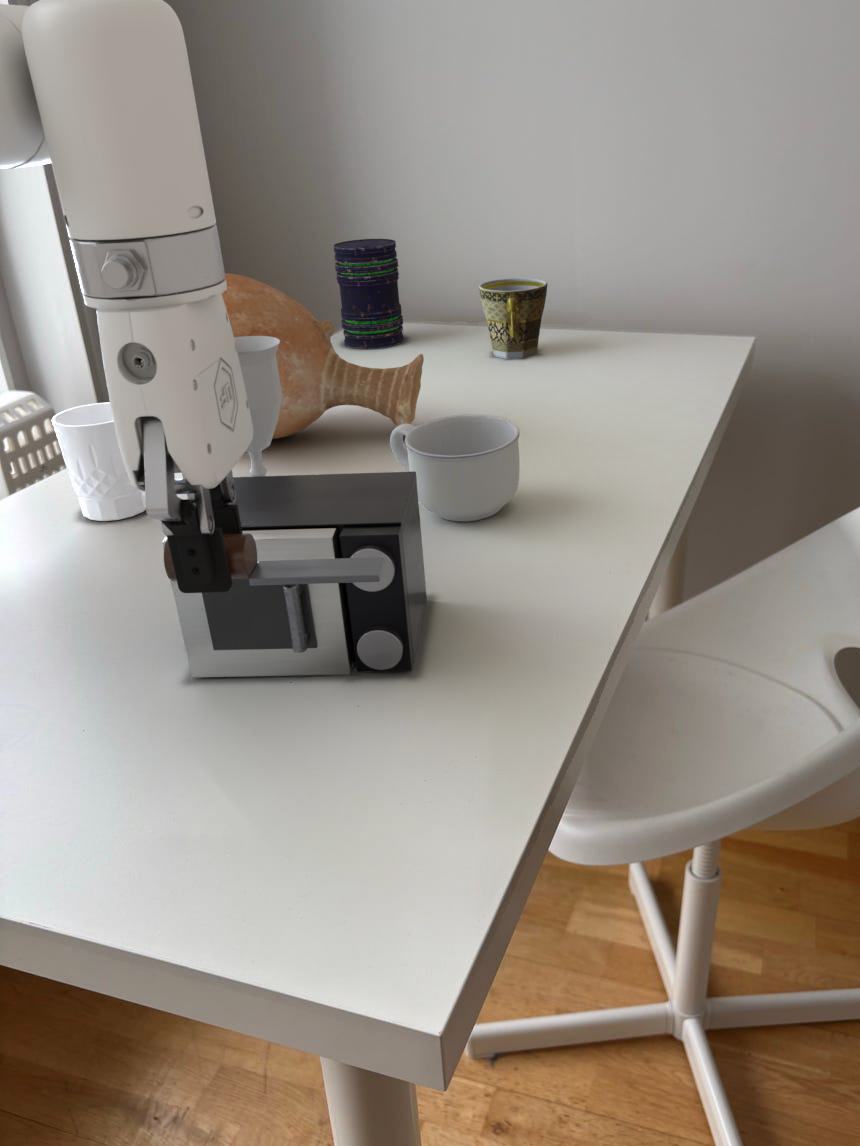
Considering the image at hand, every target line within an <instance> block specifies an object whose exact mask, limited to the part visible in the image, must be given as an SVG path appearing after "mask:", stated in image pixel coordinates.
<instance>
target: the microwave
mask: <svg viewBox="0 0 860 1146" xmlns="http://www.w3.org/2000/svg"><path fill="white" fill-rule="evenodd" d="M233 479H234V483H235V488H236V501H235V503H228V505H237V506H238V511H239V516H240V522H241V527H242V531H254V530H289V529H324V528H336V530H337V538H338V546H339V553H340V558H370V557H384V561H385V564H384V568H383V571H382V574H381V577H380V581H379V582H355V583H343V584H344V592H345V600H346V607H347V615H348V623H349V631H350V638H351V646H352V654H353V662H354V664H355V670H356V672H357V673H361V672H362V673H363V672H365V673H366V672H368V673H369V672H411V671H413V666H414V662H415V659H416V655H417V650H418V645H419V639H420V634H421V630H422V624H423V619H424V616H425V615H424V614H425V610H426V606H427V601H428V599H427V586H426V575H425V574H426V573H425V563H424V551H423V550H424V549H423V539H422V527H421V516H420V502H419V501H418V491H417V482H416V481H417V479H416V472H415V471H413V472H409V471H388V472H387V471H385V472H383V471H381V472H357V473H355V472H354V473H325V474H324V473H323V474H319V473H318V474H295V475H294V474H293V475H290V474H289V475H266V476H256V477H252V476H233ZM194 505H195V506H196V504H194Z"/></svg>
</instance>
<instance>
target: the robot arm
mask: <svg viewBox="0 0 860 1146" xmlns="http://www.w3.org/2000/svg"><path fill="white" fill-rule="evenodd" d="M193 84H194V83H193V79H192V73H191V67H190V60H189V55H188V49H187V44H186V40H185V34H184V30H183V26H182V23H181V20H180V19H179V17H178V15H177V13H176V12H175V10H174V9H173V8H172V7H171V5H170V4H168V3H167V2H166V1H165V0H37V1H35V2H34V3H32V4H31V5H22V4H7V3H6V4H5V3H0V170H12V169H13V170H14V169H19V168H20V169H21V168H27V167H34V166H35V167H37V166H43V165H48V164H51V168H52V172H53V177H54V181H55V184H56V189H57V192H58V197H59V201H60V205H61V210H62V214H63V218H64V222H65V226H66V230H67V235H68V237H69V243H70V247H71V251H72V255H73V260H74V263H75V269H76V273H77V276H78V281H79V285H80V289H81V293H82V297H83V302H84V305H85V306H86V307H88V308H92V309H96V310H95V311H96V320H97V328H98V335H99V336H98V337H99V343H100V351H101V357H102V363H103V370H104V377H105V382H106V387H107V393H108V399H109V402H110V405H111V410H112V415H113V420H114V425H115V429H116V434H117V438H118V442H119V447H120V451H121V454H122V458H123V462H124V465H125V468H126V471H127V474H128V477H129V480H130V482H131V483H132V484H133V485H134V486H135V487H136V488H137V489H139V490H141V491H145V496H146V510H145V511H146V515H147V517H148V518H149V519H151V520H155V521H160V523H161V528H162V532H163V535H164V536H165V537H166V536H167V539H168V544H169V548H170V553H171V557H172V562H173V566H174V570H175V575H176V579H177V584H178V588H179V590H180V591H181V592H183V593H210V592H227V591H229V590H230V588H231V586H232V578H231V573H230V568H229V563H228V558H227V552H226V547H225V542H224V537H223V534H243V533H242V527H241V522H240V516H239V511H238V506H237V505H228V503H235V501H236V488H235V483H234V479H233V477H234V474H233V468H234V467H235V466H236V464H237V463H238V462H239V461H240V459H241V458H242V456H243V455H244V454H245V451H246V449H247V448H248V446H249V445H250V443H251V441H252V438H253V424H252V418H251V413H250V409H249V404H248V399H247V394H246V390H245V385H244V380H243V376H242V371H241V367H240V362H239V357H238V353H237V349H236V344H235V340H234V336H233V332H232V328H231V324H230V320H229V317H228V313H227V310H226V306H225V303H224V300H223V297H222V293H224V291H226V290H227V283H226V278H225V273H226V272H225V271H226V270H225V266H224V260H223V255H222V248H221V241H220V236H219V231H218V225H217V219H216V214H215V208H214V201H213V195H212V190H211V183H210V178H209V172H208V166H207V161H206V153H205V149H204V143H203V137H202V136H203V135H202V131H201V125H200V124H201V123H200V119H199V113H198V108H197V102H196V95H195V90H194V85H193ZM180 473H181V476H182V478H176V477H175V476H176V475H175V474H180ZM178 495H186V496H187V498H186V499H183V498H181V497H179V496H178ZM194 504H196V506H195V505H194Z"/></svg>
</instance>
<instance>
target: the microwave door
mask: <svg viewBox="0 0 860 1146" xmlns="http://www.w3.org/2000/svg"><path fill="white" fill-rule="evenodd" d="M242 533H243V534H247V533H249V534H251V535H252V536H253V538H254V540H255V543H256V548H257V563H258V562H259V561H276V560H307V559H339V558H340V553H339V546H338V538H337V530H336V528H324V529H289V530H254V531H242ZM166 540H167V536H165V537H164V539H163V540H162V541H161V544H162V549H163V550H164V546H165V542H166ZM170 584H171V589H172V594H173V599H174V602H175V607H176V611H177V616H178V621H179V625H180V629H181V634H182V639H183V642H184V647H185V651H186V657H187V661H188V665H189V671H190V675H191V678H231V677H232V678H234V677H235V678H236V677H285V676H288V677H289V676H291V677H293V676H337V675H338V676H339V675H340V676H342V675H343V676H345V675H346V676H347V675H351V673H352V670H353V667H354V664H355V663H354V662H353V654H352V646H351V638H350V631H349V623H348V615H347V607H346V600H345V592H344V584H343V583H322V584H288V585H255V586H250V583H249V579H237V580H232V586H231V588H230V590H229V591H227V592H210V593H183V592H181V591H180V590H179V588H178V584H177V581H171V580H170Z"/></svg>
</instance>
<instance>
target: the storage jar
mask: <svg viewBox="0 0 860 1146" xmlns="http://www.w3.org/2000/svg"><path fill="white" fill-rule="evenodd" d="M396 248H397V241H396V240H394V239H390V238H362V239H352V240H346V241H340V242H337V243H335V244H333V252H334V261H335V262H334V270H335V272H336V282H337V284H338V285H339V295H340V304H341V308H340V316H341V320H340V321H341V328H342V329H343V330H342V333H343V336H344V340H343V342H344V343H343V344H344V346H345V347H347V348H350V349H357V350H373V349H376V350H377V349H384V348H389V347H394V346H398V345H399V344H402V343H403V342H404V341H405V336H404V334H403V333H404V332H403V331H404V326H403V325H404V317H403V314H402V311H403V310H402V305H401V303H400V294H399V283H398V281H399V279H400V277H399V276H400V272H399V268H398V267H399V260H398V258H397V257H398V254H397V250H396Z"/></svg>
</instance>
